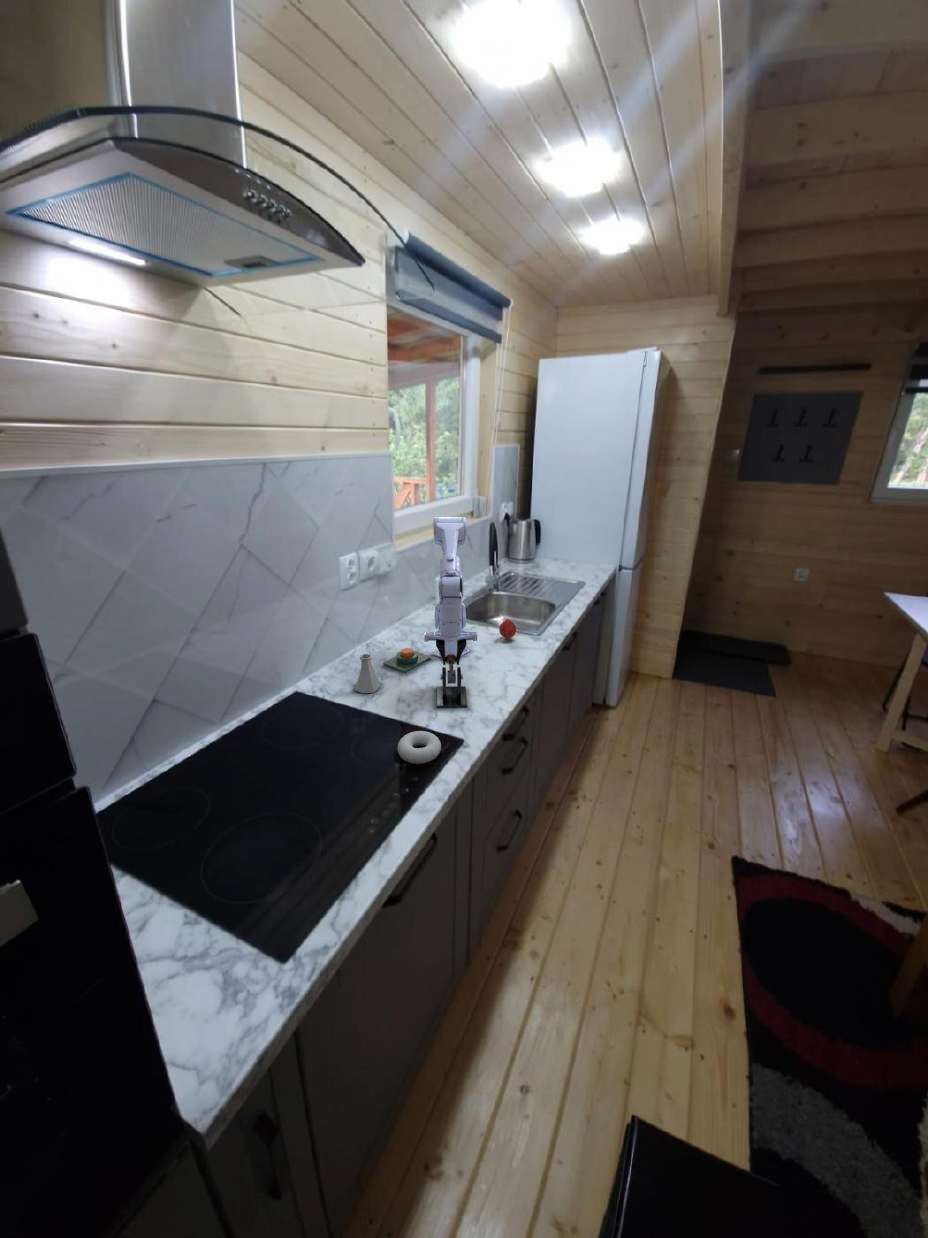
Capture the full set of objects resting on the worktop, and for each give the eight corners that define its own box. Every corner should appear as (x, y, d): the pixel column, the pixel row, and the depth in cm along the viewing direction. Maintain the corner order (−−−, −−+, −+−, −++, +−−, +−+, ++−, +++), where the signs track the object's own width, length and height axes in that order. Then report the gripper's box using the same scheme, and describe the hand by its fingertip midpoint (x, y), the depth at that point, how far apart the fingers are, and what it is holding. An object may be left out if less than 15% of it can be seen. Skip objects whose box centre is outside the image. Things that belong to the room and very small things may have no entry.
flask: (375, 695, 137) (373, 663, 133) (350, 692, 138) (347, 660, 134) (384, 682, 143) (382, 651, 139) (360, 680, 144) (358, 649, 141)
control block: (409, 652, 162) (409, 644, 160) (430, 660, 157) (430, 651, 156) (383, 666, 153) (383, 657, 151) (405, 674, 148) (405, 665, 147)
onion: (499, 635, 175) (500, 614, 172) (515, 636, 174) (517, 615, 171) (498, 642, 170) (499, 620, 166) (515, 643, 169) (516, 621, 166)
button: (406, 652, 156) (406, 647, 155) (415, 655, 154) (415, 650, 153) (398, 656, 153) (398, 651, 153) (407, 659, 151) (407, 654, 151)
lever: (445, 660, 141) (445, 651, 140) (456, 660, 142) (456, 651, 140) (445, 684, 132) (445, 675, 130) (457, 684, 132) (457, 675, 130)
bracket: (437, 690, 140) (436, 662, 136) (465, 689, 140) (465, 662, 137) (436, 709, 130) (436, 680, 127) (467, 709, 131) (467, 679, 127)
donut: (410, 736, 119) (389, 760, 111) (409, 724, 118) (388, 747, 109) (448, 746, 116) (429, 771, 107) (448, 733, 115) (429, 758, 106)
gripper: (423, 624, 130) (424, 670, 136) (478, 624, 131) (477, 669, 136) (424, 614, 137) (425, 658, 142) (476, 614, 138) (475, 658, 143)
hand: (450, 663), depth 140 cm, fingers closed on lever, 3 cm apart
